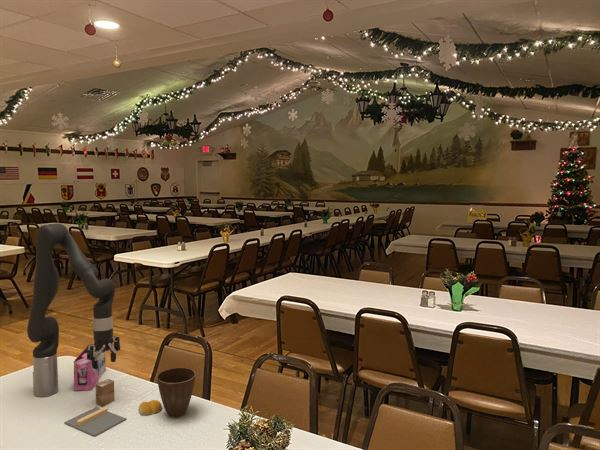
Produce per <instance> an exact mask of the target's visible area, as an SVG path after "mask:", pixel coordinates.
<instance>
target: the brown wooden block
mask: <svg viewBox="0 0 600 450" xmlns="http://www.w3.org/2000/svg"><path fill="white" fill-rule="evenodd" d="M94 387H95V405H96V406H98V407H101V408H104V407H105V406H107V405H109V404H112V403H114V402H115V380H113V379H110V378H105V379H103V380H100V381H98V382H97V383H96V384H95V386H94Z"/></svg>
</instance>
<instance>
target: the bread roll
mask: <svg viewBox="0 0 600 450" xmlns="http://www.w3.org/2000/svg"><path fill="white" fill-rule="evenodd" d="M162 405H163V404H162V403H161V401H160V400H158V399H151V400H148V401H143V402H141V403H140V404H139V406H138V409H137V411H138V413H139V415H141V416H150V415H153V414H158V413H159V412H161V410H162Z"/></svg>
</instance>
